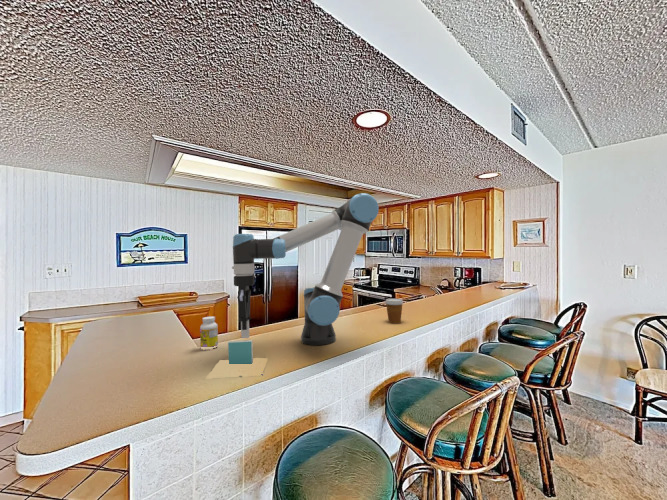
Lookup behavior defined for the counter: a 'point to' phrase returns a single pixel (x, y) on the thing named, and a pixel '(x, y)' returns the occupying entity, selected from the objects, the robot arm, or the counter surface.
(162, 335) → the counter surface
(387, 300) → the disposable coffee cup
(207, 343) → the supplement bottle
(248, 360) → the tile
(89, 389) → the counter surface
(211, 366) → the counter surface
